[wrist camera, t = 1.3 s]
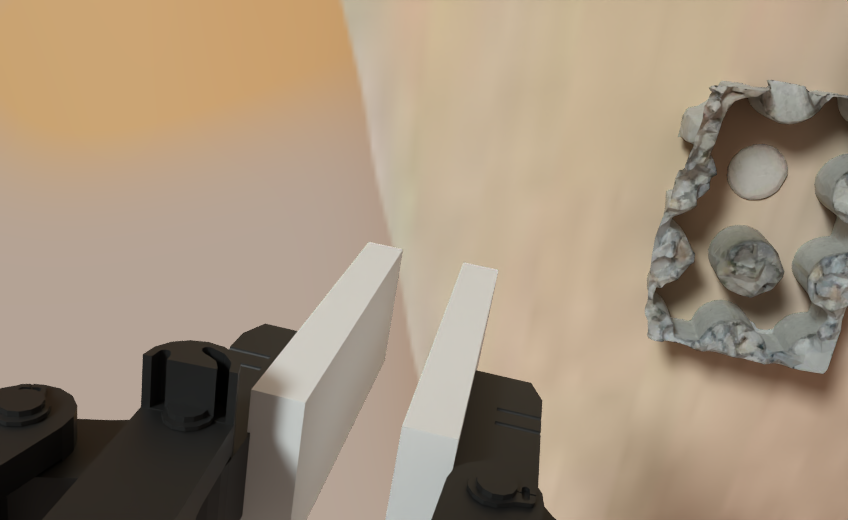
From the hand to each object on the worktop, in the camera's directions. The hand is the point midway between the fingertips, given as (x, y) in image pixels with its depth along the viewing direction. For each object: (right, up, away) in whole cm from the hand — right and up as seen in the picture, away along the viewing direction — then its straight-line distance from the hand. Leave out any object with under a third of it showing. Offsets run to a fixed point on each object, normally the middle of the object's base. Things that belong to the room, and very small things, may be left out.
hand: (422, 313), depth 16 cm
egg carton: (+13, +3, +15) cm, 20 cm away
